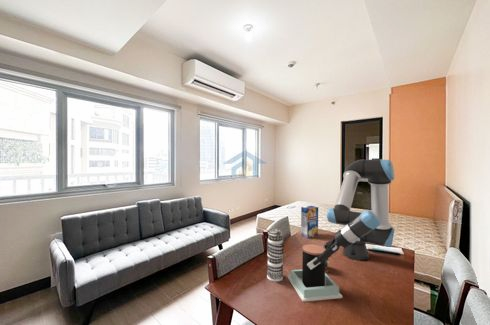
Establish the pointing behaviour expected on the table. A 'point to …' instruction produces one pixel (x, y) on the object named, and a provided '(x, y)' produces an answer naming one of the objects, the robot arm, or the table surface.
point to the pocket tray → (314, 288)
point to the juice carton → (309, 221)
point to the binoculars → (326, 266)
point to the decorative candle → (275, 255)
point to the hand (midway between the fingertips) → (312, 260)
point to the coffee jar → (316, 274)
